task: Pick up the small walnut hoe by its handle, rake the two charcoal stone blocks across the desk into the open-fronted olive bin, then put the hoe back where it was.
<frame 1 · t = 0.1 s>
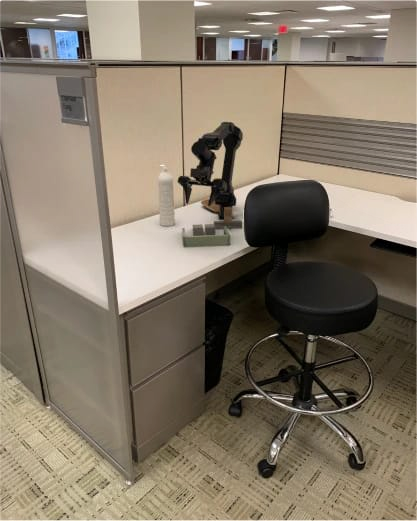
hand: (197, 204, 157), 15 cm above the table, tool tilted 35°, fingers open, 9 cm apart
bin: (205, 241, 163), on the table
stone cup: (217, 209, 201), on the table
hoe: (227, 228, 177), on the table
disc drive: (299, 216, 193), on the table
stone block b: (197, 235, 169), on the table
white pump bottle: (166, 223, 182), on the table
stone block a: (209, 234, 170), on the table
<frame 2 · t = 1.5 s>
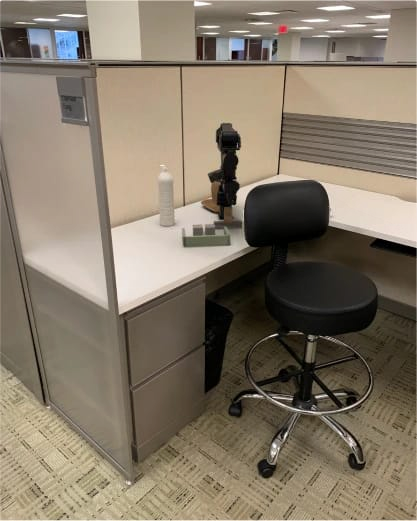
hand: (228, 201, 172), 12 cm above the table, tool pointing down, fingers open, 9 cm apart
nothing on the table moved.
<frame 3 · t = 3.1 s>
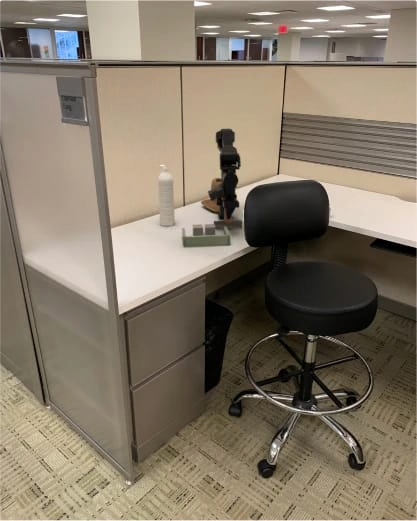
hand: (228, 217, 175), 5 cm above the table, tool pointing down, fingers closed on hoe, 3 cm apart
hoe: (227, 228, 177), on the table, touching gripper
everything else where it was.
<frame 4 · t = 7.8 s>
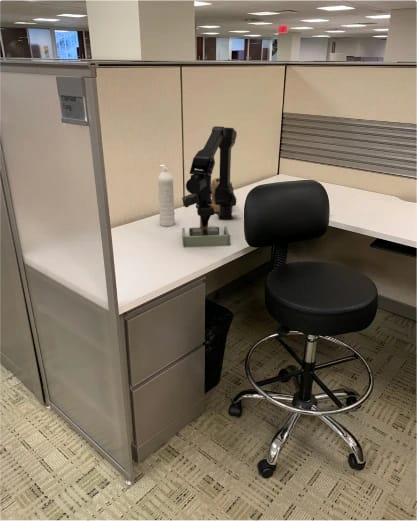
hand: (204, 225, 166), 5 cm above the table, tool pointing down, fingers closed on hoe, 3 cm apart
hoe: (204, 235, 168), on the table, touching gripper, stone block a, stone block b
stone block b: (197, 239, 165), on the table, touching hoe
stone block a: (212, 238, 165), on the table, touching hoe
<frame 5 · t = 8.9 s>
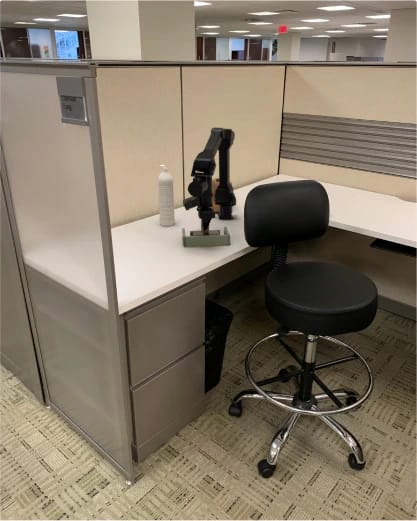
hand: (204, 228, 163), 4 cm above the table, tool pointing down, fingers closed on hoe, 3 cm apart
hoe: (205, 238, 165), on the table, touching gripper, stone block a
stone block b: (198, 242, 162), on the table
stone block a: (213, 241, 163), on the table, touching hoe
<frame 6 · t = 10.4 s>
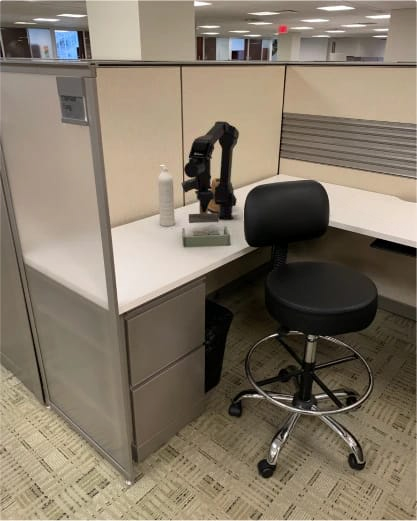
hand: (203, 210, 166), 10 cm above the table, tool pointing down, fingers closed on hoe, 3 cm apart
hoe: (203, 221, 168), point 5 cm above the table, touching gripper
stone block a: (213, 241, 163), on the table
when the fingers open (5 cm above the table, at t = 13.0 s): hoe drops 1 cm, on the table.
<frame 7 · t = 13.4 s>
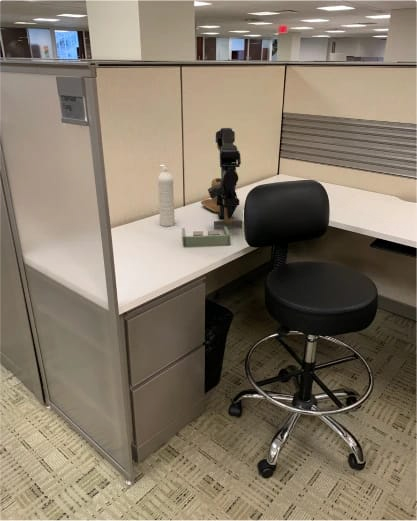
hand: (228, 215, 174), 5 cm above the table, tool pointing down, fingers open, 7 cm apart
hoe: (228, 228, 177), on the table
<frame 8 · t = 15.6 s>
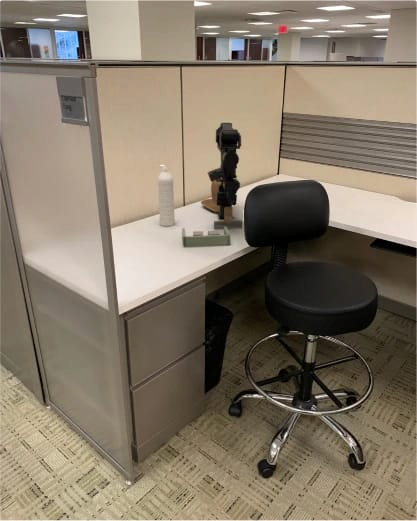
hand: (228, 199, 171), 12 cm above the table, tool pointing down, fingers open, 9 cm apart
at the end: stone block a inside the target area (3.2 cm from its centre), on the table; stone block b inside the target area (3.0 cm from its centre), on the table; the gripper is holding nothing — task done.
